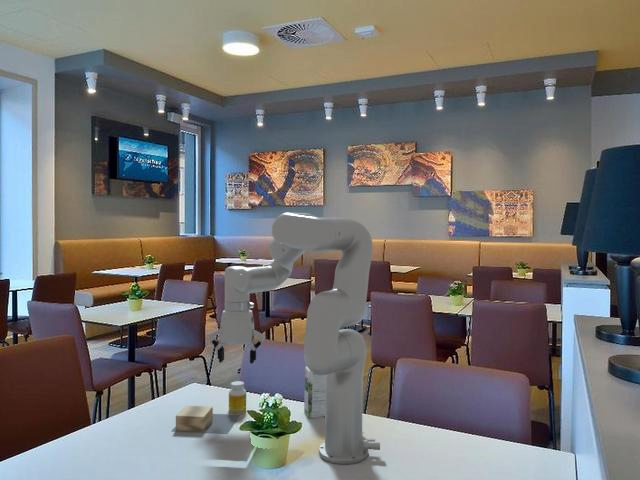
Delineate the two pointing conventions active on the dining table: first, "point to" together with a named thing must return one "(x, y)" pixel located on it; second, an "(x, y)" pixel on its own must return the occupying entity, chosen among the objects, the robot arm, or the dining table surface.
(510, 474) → the dining table surface
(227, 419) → the mat
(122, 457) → the dining table surface
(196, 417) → the oak block
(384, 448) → the dining table surface
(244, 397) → the supplement bottle
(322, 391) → the syrup box
